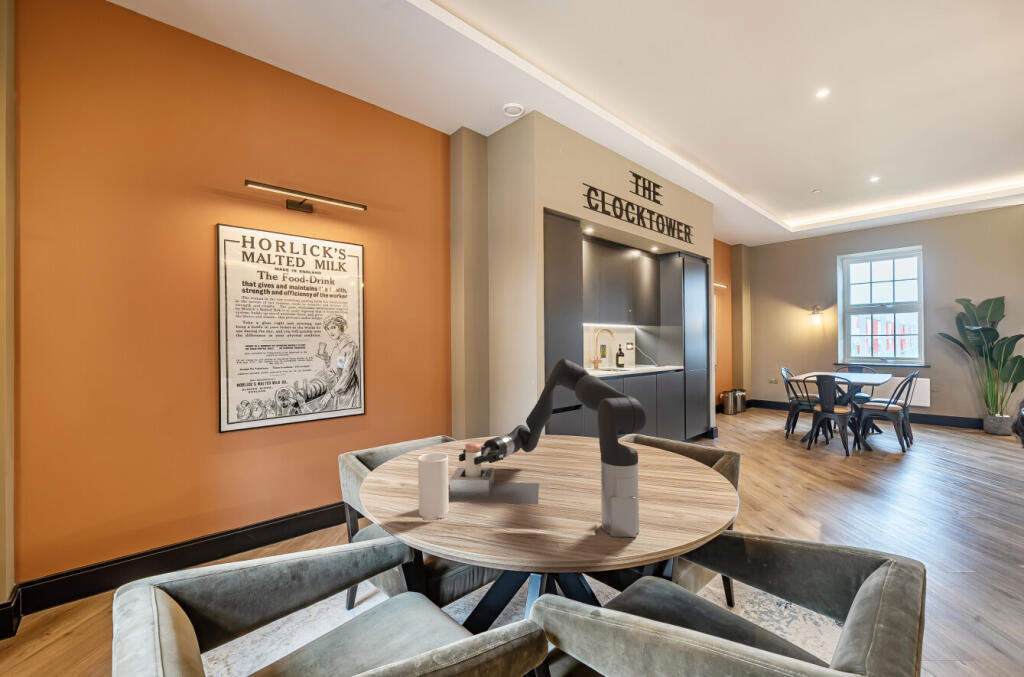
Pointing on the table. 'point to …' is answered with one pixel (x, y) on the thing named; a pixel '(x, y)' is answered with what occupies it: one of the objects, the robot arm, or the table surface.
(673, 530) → the table surface
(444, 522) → the table surface
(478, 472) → the peg
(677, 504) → the table surface
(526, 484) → the mat
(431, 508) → the cup
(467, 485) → the socket
